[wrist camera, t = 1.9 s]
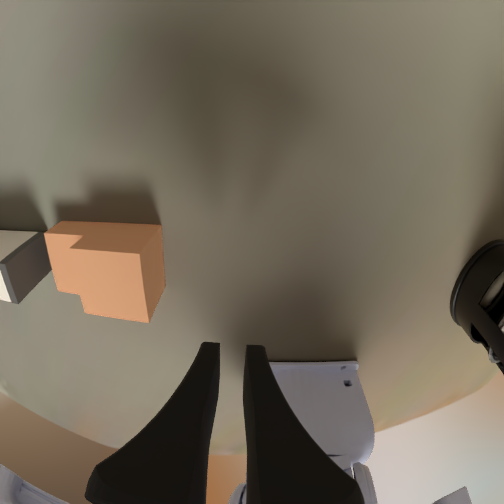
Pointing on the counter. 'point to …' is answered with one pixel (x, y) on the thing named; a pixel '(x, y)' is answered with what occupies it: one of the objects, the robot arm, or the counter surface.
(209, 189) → the counter surface
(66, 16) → the counter surface
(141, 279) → the peach two-level step
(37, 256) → the sliding door
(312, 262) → the counter surface
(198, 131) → the counter surface
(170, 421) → the robot arm
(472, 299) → the french press
